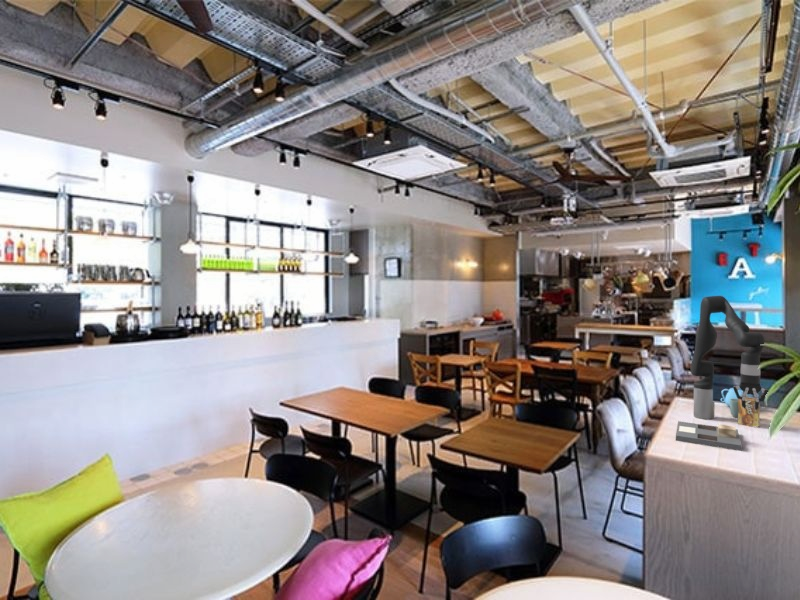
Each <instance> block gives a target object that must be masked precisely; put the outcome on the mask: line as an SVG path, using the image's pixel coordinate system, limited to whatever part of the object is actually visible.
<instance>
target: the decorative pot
mask: <svg viewBox="0 0 800 600" xmlns="http://www.w3.org/2000/svg"><path fill="white" fill-rule="evenodd" d="M724 392H726V394H724ZM738 393H739V395H740V396H742V395H743V391H742V390H741V388H739V390H738ZM721 396H722V397H721V398H720V402H722V403H725V404H726V406H728V407H729V408H730V399H738V398H737V396H736V394H735V391H734V389H733V387H730V388H729V389H728V388H724V389H722V390H721ZM757 396H758V398H760V395H759V392H758V393H757ZM746 397H752V398H755V397H754V395H752V394H747V396H746Z"/></svg>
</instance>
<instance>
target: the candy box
mask: <svg viewBox="0 0 800 600" xmlns="http://www.w3.org/2000/svg"><path fill="white" fill-rule="evenodd" d="M741 397H742V396H741ZM745 401H746V408H743V407H742V400H741V399H738V418H737V419H738V420H737V421H738V422H737V424H738V425H741V426H747V425H748V427H752V426H756V427H755V428H759V427H760V422H761V421H760V410H761V409H760V405H761V403H760V402H761V401H760V402H759V408H758V409H757V410H755V397H754V398H752V397H746V398H745ZM758 426H759V427H758Z"/></svg>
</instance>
